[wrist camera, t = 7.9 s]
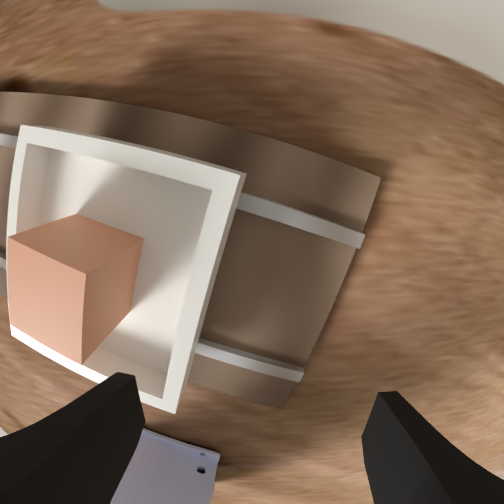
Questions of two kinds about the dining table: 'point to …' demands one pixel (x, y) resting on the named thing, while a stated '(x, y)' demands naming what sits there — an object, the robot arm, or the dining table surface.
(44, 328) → the terracotta block
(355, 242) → the track board
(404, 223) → the dining table surface
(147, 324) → the white square tray
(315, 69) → the dining table surface
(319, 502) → the dining table surface
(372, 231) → the dining table surface
